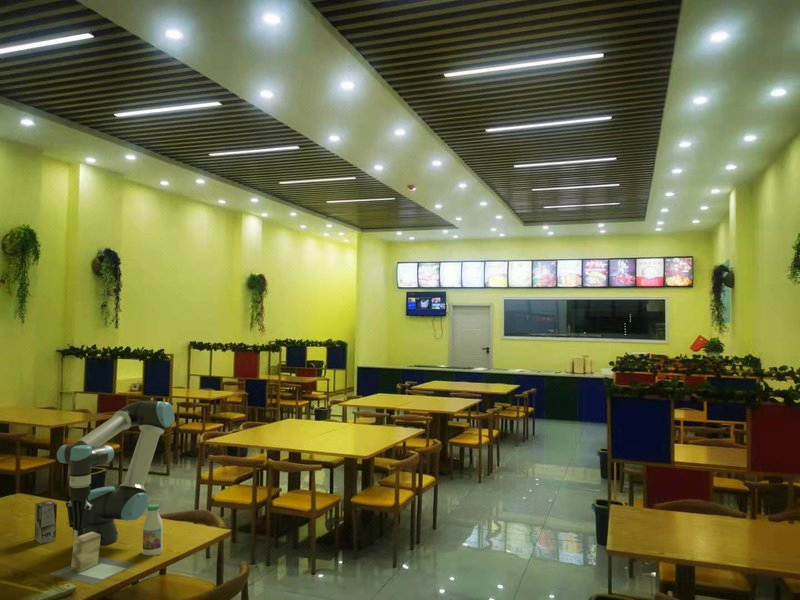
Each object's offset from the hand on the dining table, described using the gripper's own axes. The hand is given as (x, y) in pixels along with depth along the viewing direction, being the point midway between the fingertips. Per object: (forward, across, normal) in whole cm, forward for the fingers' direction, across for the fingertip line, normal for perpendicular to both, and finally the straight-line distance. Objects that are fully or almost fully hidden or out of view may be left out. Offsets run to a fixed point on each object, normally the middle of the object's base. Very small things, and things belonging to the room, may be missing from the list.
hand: (77, 546), depth 236 cm
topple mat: (+9, +8, 0) cm, 12 cm away
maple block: (+8, +4, 0) cm, 8 cm away
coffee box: (+9, -42, +17) cm, 46 cm away
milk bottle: (+9, +15, +24) cm, 29 cm away
